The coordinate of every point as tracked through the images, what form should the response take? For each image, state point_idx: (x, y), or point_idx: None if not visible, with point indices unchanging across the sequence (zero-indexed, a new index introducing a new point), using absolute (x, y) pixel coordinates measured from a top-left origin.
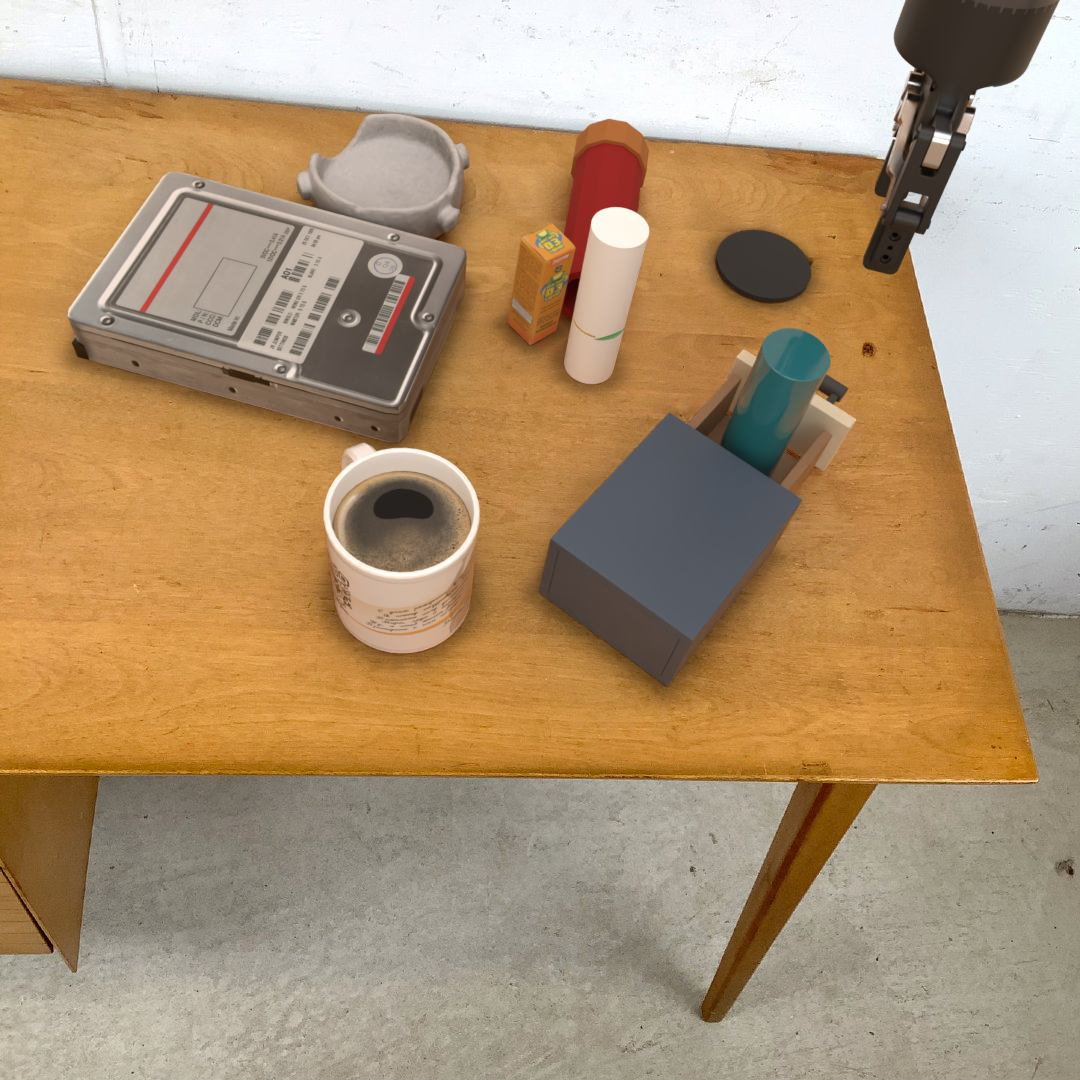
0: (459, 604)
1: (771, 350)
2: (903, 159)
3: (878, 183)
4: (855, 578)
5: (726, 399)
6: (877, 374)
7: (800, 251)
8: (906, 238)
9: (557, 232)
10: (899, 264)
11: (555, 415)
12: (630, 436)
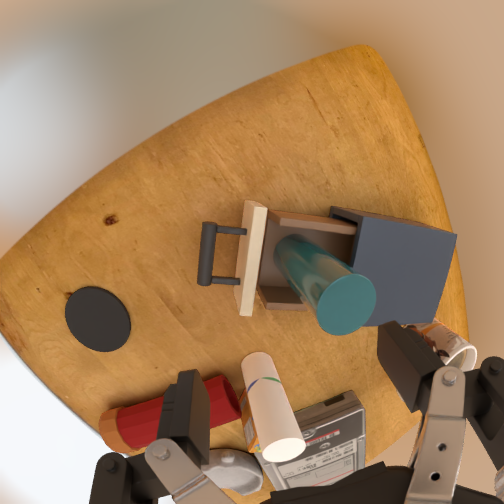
0: (438, 324)
1: (354, 324)
2: (200, 435)
3: (209, 410)
4: (318, 148)
5: (284, 299)
6: (128, 203)
7: (67, 305)
8: (442, 361)
9: (254, 447)
10: (400, 327)
11: (302, 356)
12: (294, 319)
